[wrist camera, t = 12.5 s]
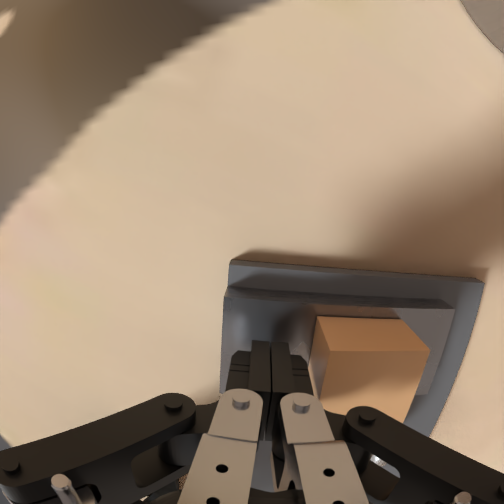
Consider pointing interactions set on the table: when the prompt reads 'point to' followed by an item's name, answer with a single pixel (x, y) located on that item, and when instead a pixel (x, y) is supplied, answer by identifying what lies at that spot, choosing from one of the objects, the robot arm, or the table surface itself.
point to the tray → (383, 285)
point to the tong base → (328, 305)
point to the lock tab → (366, 364)
